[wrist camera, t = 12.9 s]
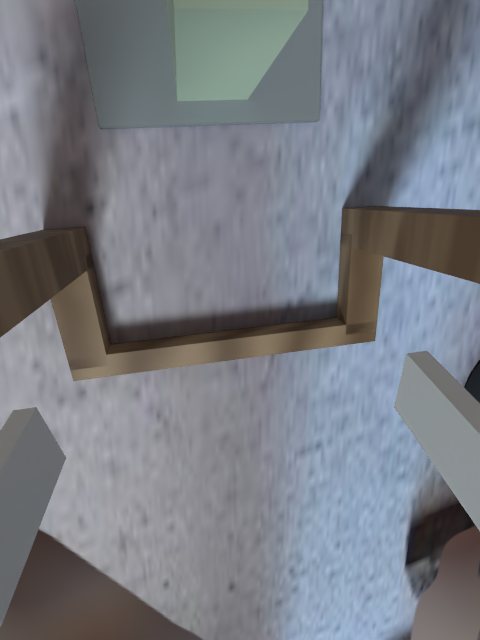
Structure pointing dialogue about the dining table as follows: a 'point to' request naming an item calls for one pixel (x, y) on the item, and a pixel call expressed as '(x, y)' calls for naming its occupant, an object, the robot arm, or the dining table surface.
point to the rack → (348, 328)
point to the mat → (159, 81)
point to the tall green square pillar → (227, 44)
